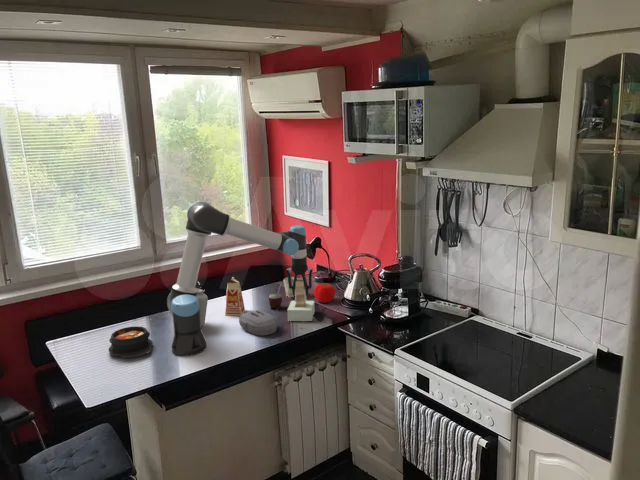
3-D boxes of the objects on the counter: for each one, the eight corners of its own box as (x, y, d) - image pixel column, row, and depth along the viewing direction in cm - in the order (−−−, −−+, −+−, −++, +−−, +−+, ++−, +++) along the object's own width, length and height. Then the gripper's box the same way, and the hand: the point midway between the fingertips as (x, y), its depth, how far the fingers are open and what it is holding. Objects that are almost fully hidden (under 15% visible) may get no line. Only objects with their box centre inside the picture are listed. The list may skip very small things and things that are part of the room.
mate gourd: (266, 307, 277) (265, 281, 274) (279, 304, 281) (278, 278, 278) (273, 311, 271) (272, 284, 268) (286, 308, 275) (285, 281, 272)
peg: (304, 307, 260) (303, 281, 257) (296, 307, 260) (295, 281, 257) (305, 304, 264) (304, 278, 261) (297, 304, 264) (296, 278, 261)
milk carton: (242, 315, 267) (239, 278, 263) (224, 315, 267) (221, 279, 263) (245, 309, 276) (242, 273, 271) (228, 309, 276) (225, 273, 272)
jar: (170, 325, 240) (187, 274, 241) (160, 317, 251) (177, 269, 253) (206, 333, 250) (223, 284, 252) (195, 325, 262) (211, 278, 264)
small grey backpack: (235, 328, 251) (259, 340, 236) (234, 312, 249) (258, 323, 234) (260, 320, 260) (285, 330, 246) (259, 304, 258) (284, 314, 244)
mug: (299, 293, 299) (299, 277, 297) (296, 300, 287) (295, 283, 284) (285, 293, 300) (284, 277, 297) (281, 300, 288) (281, 283, 285)
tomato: (311, 304, 281) (310, 286, 279) (317, 297, 291) (317, 279, 289) (332, 305, 277) (332, 287, 275) (338, 298, 288) (337, 281, 286)
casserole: (102, 346, 234) (100, 329, 232) (143, 336, 245) (141, 319, 243) (117, 366, 214) (114, 347, 212) (161, 353, 225) (159, 335, 223)
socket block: (311, 321, 256) (311, 310, 254) (287, 321, 257) (287, 310, 256) (314, 311, 269) (314, 300, 268) (291, 311, 270) (291, 300, 269)
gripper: (316, 254, 259) (318, 299, 264) (283, 255, 261) (285, 298, 266) (315, 258, 252) (316, 304, 257) (280, 258, 253) (283, 303, 258)
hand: (300, 301), depth 261 cm, fingers closed on peg, 4 cm apart
